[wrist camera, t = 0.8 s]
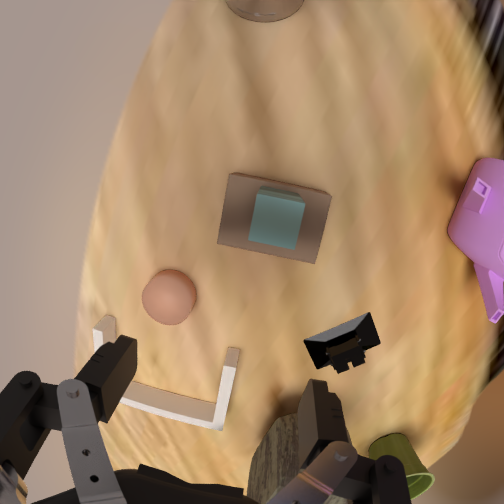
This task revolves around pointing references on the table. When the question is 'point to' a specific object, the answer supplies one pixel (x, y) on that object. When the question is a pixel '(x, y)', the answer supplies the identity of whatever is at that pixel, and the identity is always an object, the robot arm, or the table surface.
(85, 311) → the table surface
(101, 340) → the frame
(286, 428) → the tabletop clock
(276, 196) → the brown and teal block
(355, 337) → the black angular piece
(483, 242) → the teakettle
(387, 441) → the plant pot
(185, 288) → the pink rounded dome
